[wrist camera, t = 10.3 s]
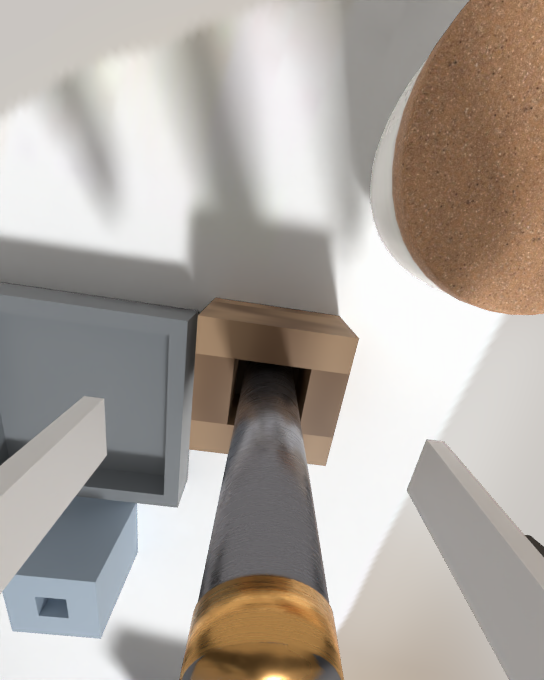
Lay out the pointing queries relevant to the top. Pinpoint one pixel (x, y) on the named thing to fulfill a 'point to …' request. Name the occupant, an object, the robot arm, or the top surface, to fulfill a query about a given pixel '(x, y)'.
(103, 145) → the top surface
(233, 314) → the go block
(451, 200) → the lidded jar
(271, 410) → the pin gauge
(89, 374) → the tray
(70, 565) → the block
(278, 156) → the top surface
